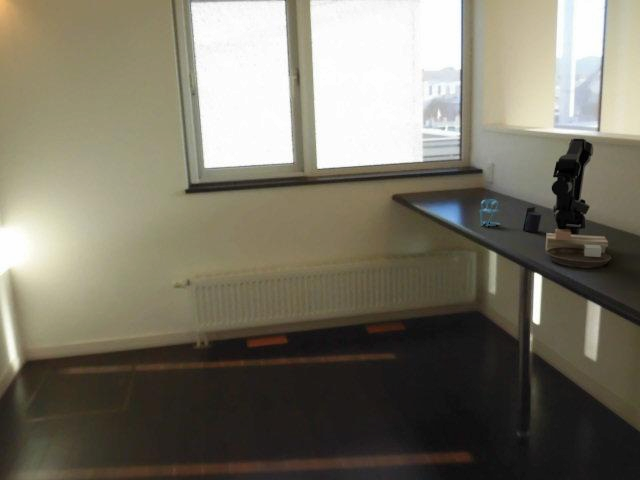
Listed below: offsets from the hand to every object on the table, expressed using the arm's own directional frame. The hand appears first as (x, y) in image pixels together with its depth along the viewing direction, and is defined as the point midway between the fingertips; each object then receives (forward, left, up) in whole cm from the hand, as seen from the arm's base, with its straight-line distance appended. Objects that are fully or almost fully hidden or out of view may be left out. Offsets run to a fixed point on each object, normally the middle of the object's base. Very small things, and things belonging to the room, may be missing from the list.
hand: (561, 234), depth 220 cm
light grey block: (+14, +9, -1) cm, 17 cm away
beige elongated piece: (+1, +5, -7) cm, 8 cm away
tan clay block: (+4, 0, -1) cm, 4 cm away
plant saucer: (+13, +5, -7) cm, 16 cm away
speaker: (-38, -9, -7) cm, 40 cm away
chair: (-46, -28, -7) cm, 54 cm away
